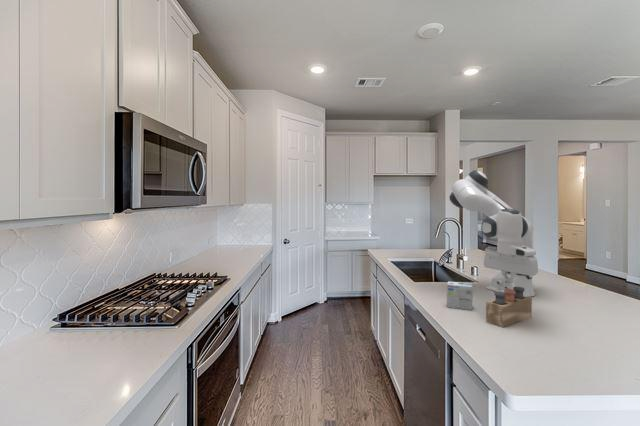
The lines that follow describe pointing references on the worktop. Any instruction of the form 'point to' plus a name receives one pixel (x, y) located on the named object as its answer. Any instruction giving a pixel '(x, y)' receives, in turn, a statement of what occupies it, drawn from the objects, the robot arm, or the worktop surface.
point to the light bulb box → (459, 295)
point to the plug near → (500, 298)
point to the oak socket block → (508, 311)
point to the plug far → (518, 292)
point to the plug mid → (509, 295)
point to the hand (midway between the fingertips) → (508, 282)
